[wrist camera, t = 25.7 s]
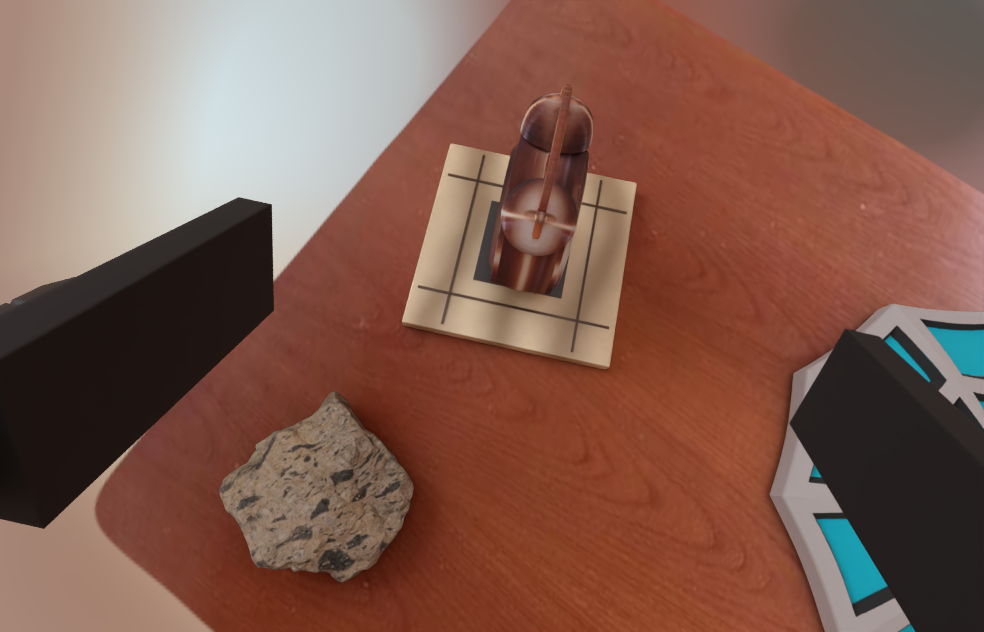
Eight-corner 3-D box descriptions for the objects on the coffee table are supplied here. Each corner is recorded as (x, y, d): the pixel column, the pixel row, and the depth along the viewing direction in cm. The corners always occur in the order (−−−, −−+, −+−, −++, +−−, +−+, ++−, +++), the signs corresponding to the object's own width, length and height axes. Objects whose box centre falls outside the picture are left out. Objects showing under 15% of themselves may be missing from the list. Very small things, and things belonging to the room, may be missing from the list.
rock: (309, 617, 34) (288, 637, 30) (221, 478, 36) (191, 480, 32) (438, 511, 37) (435, 516, 33) (349, 386, 39) (335, 377, 35)
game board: (403, 325, 40) (401, 321, 39) (450, 151, 45) (450, 142, 44) (605, 370, 40) (610, 367, 39) (632, 190, 45) (637, 182, 43)
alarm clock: (543, 319, 40) (587, 234, 25) (481, 305, 40) (490, 213, 25) (567, 195, 43) (619, 56, 28) (510, 182, 43) (532, 38, 28)
